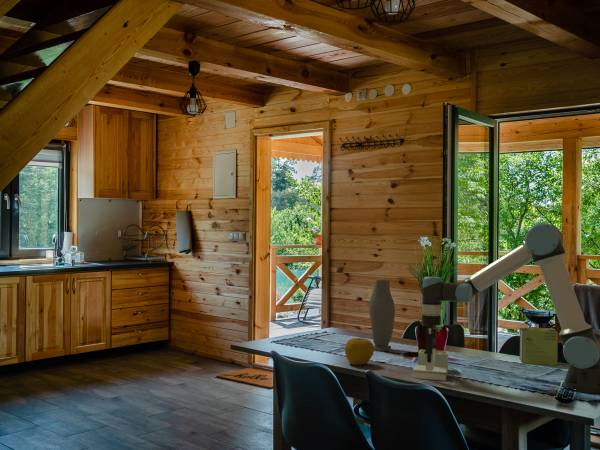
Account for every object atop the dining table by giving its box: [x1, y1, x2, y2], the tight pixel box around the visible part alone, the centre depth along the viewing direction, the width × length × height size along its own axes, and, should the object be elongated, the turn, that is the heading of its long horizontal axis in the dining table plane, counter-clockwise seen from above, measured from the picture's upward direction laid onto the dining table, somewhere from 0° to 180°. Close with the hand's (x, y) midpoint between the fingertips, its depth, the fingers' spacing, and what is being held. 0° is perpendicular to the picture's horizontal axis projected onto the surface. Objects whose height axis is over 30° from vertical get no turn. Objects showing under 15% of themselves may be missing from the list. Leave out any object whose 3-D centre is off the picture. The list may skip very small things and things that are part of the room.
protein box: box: [519, 326, 559, 366], centre depth 297 cm, size 10×15×16 cm
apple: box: [344, 337, 375, 366], centre depth 281 cm, size 13×13×11 cm
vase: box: [368, 279, 396, 352], centre depth 323 cm, size 13×13×35 cm
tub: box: [417, 349, 449, 368], centre depth 273 cm, size 12×8×8 cm, turn 74°
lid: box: [412, 364, 449, 381], centre depth 259 cm, size 13×10×4 cm
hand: (430, 367), depth 259 cm, fingers open, 13 cm apart
